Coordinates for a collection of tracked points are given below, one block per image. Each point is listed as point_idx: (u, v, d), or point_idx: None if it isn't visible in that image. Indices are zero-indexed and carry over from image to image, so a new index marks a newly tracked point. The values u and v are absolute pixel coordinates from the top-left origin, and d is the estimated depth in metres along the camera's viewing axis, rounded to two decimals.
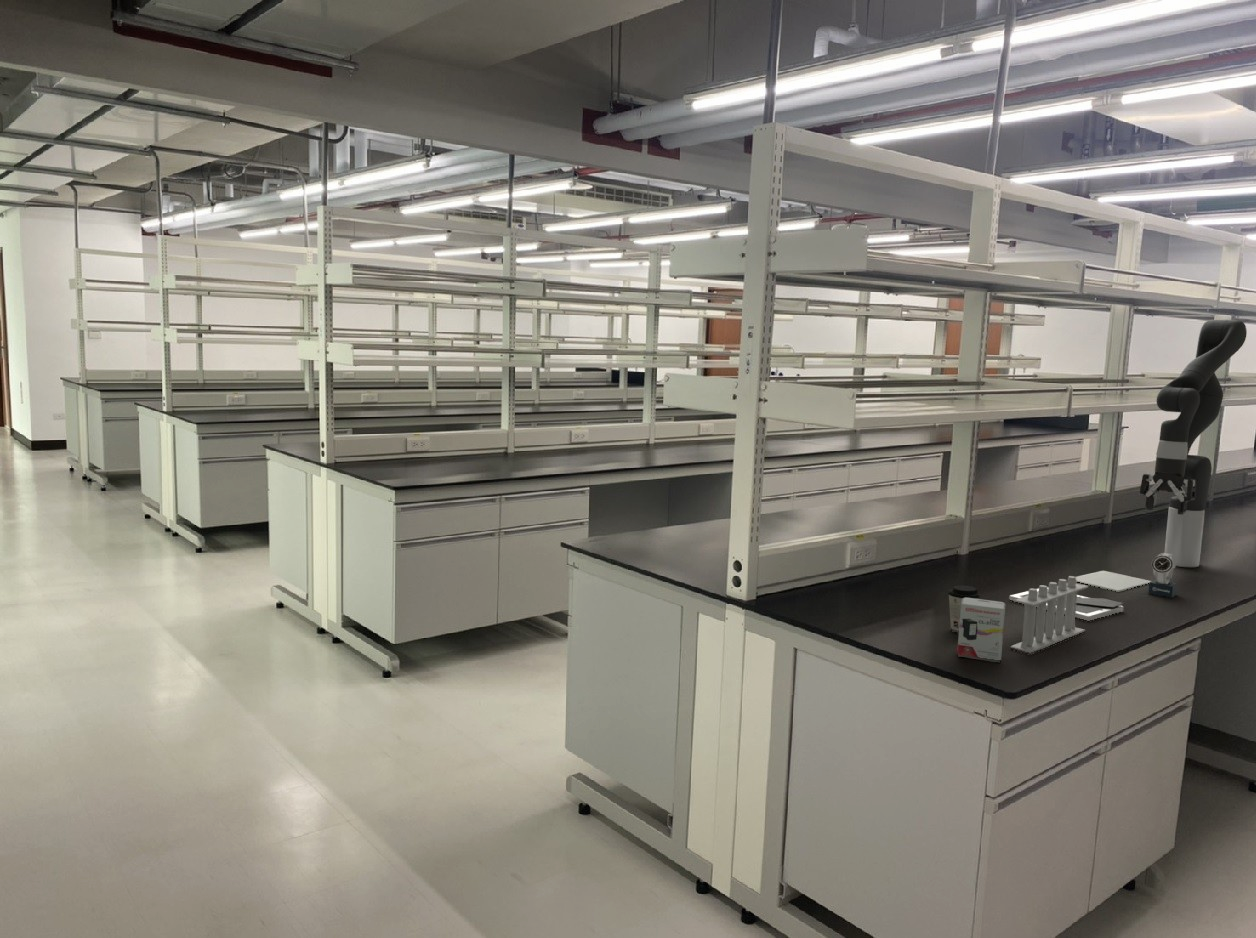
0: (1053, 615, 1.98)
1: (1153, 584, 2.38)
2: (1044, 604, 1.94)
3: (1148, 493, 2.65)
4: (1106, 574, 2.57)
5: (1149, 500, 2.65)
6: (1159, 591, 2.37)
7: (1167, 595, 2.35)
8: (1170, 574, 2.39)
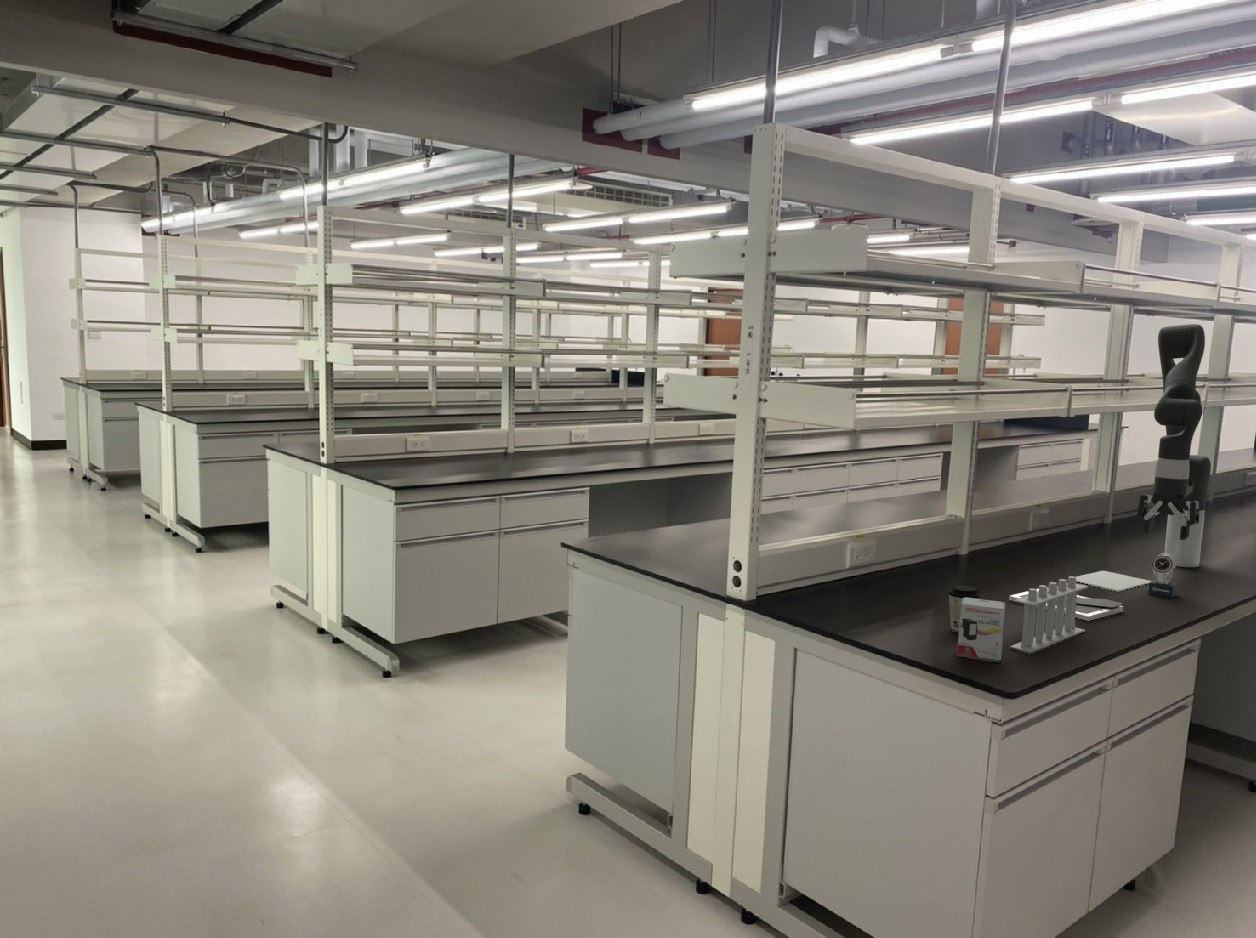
0: (1053, 615, 1.97)
1: (1153, 584, 2.38)
2: (1044, 604, 1.94)
3: (1147, 516, 2.39)
4: (1106, 574, 2.57)
5: (1148, 523, 2.39)
6: (1159, 591, 2.37)
7: (1167, 595, 2.35)
8: (1170, 574, 2.39)
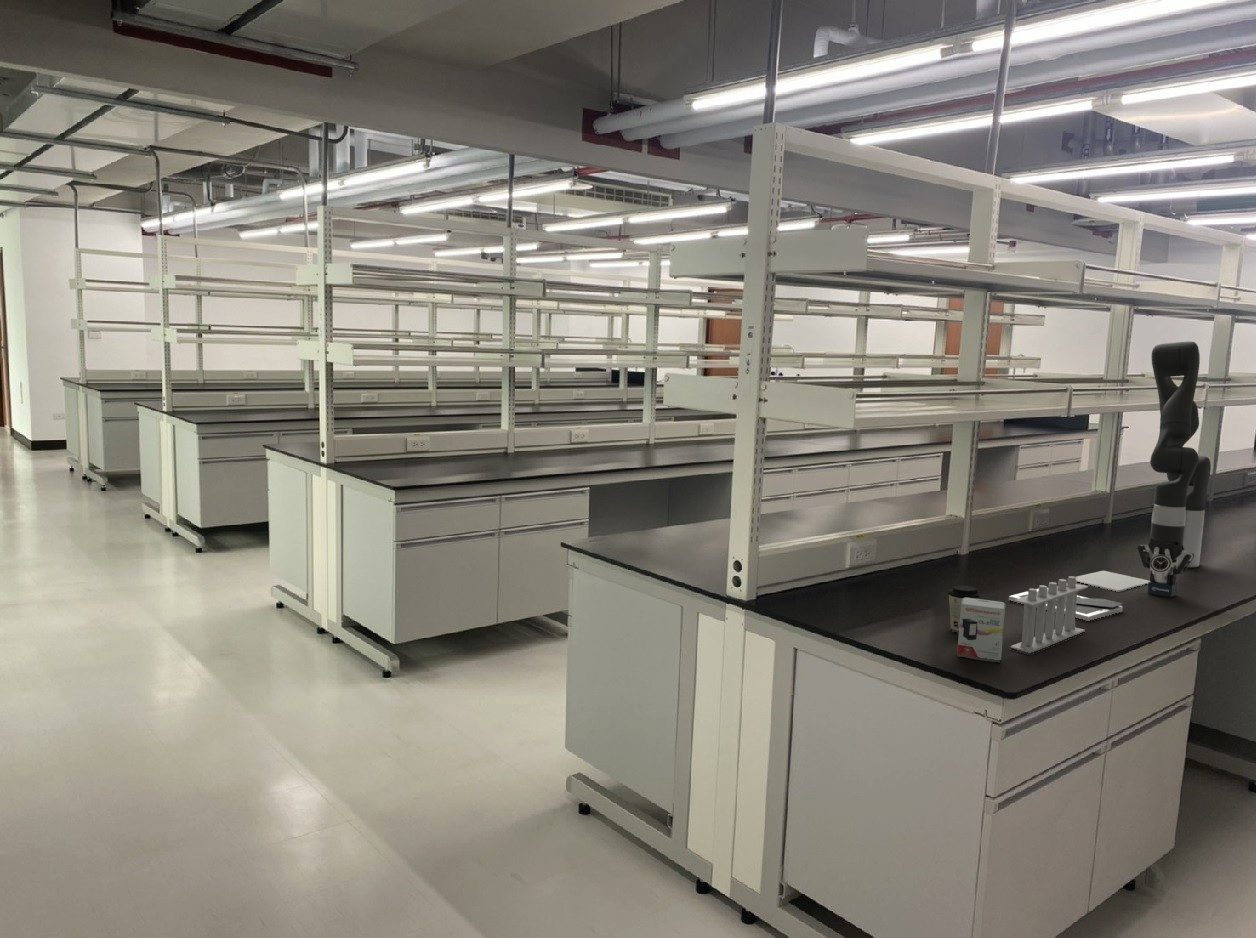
0: (1053, 615, 1.97)
1: (1152, 584, 2.38)
2: (1044, 604, 1.94)
3: None
4: (1106, 574, 2.57)
5: None
6: (1159, 591, 2.37)
7: (1167, 594, 2.35)
8: None
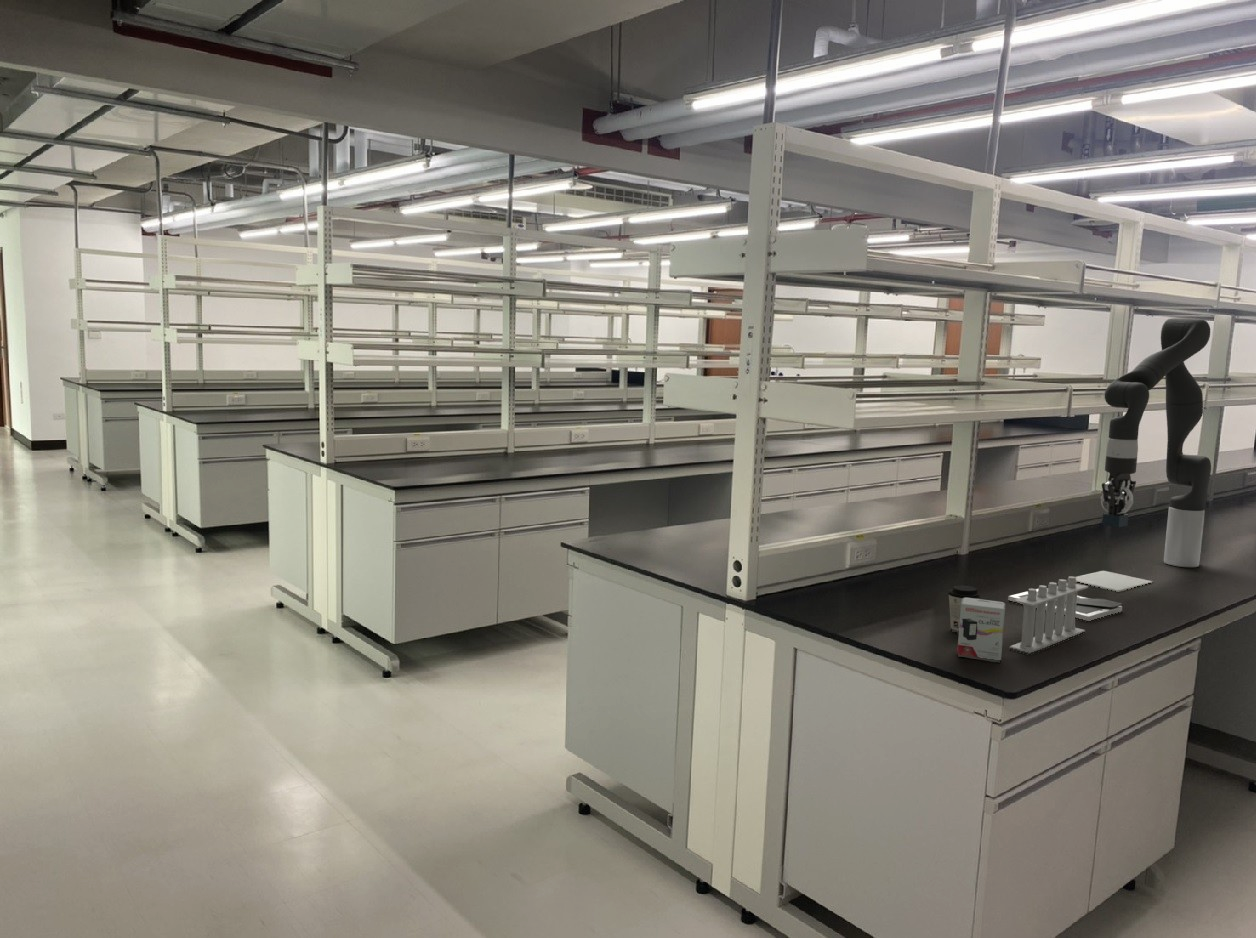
0: (1053, 615, 1.97)
1: None
2: (1044, 604, 1.94)
3: None
4: (1106, 574, 2.57)
5: None
6: None
7: None
8: (1124, 508, 2.46)
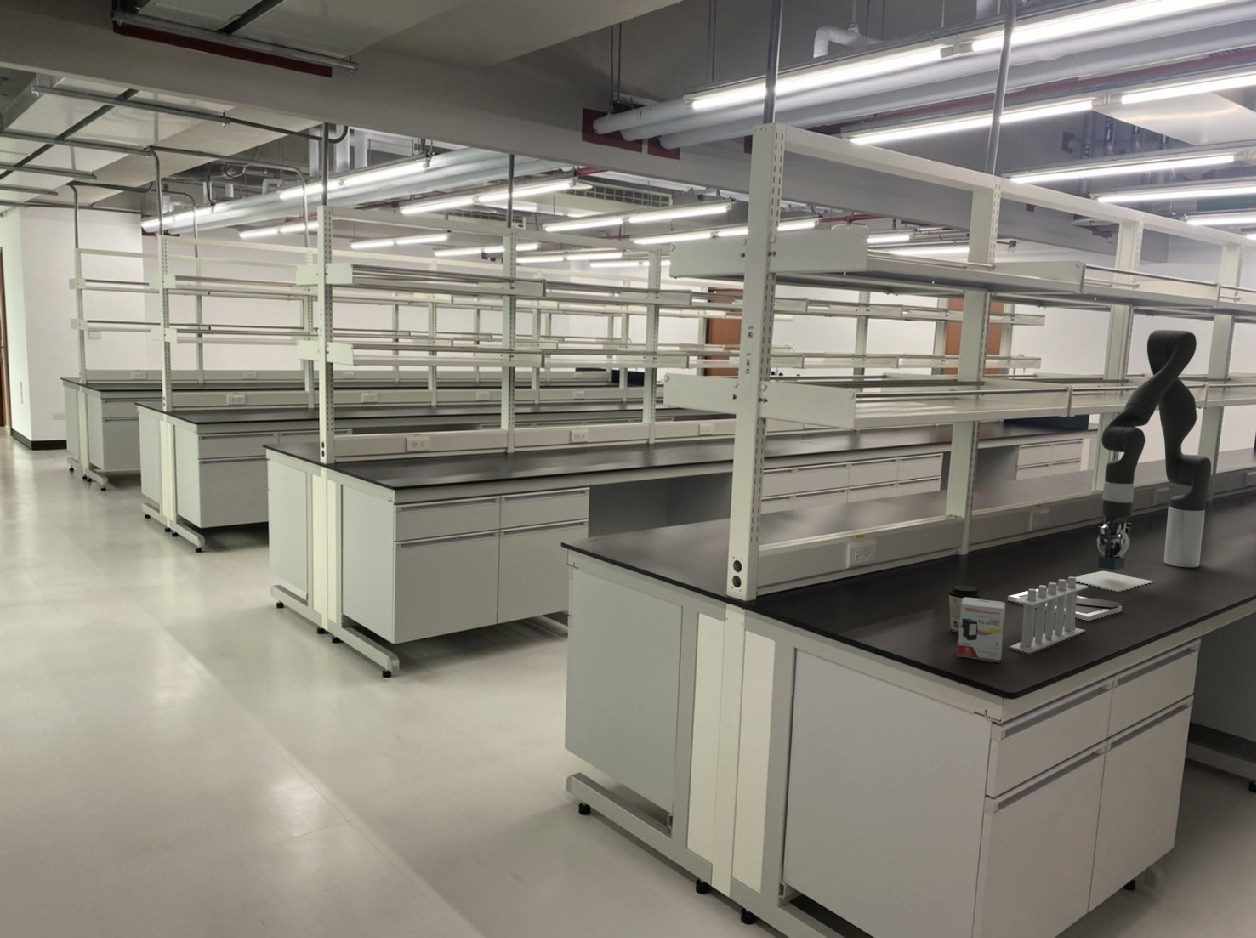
0: (1053, 615, 1.97)
1: None
2: (1043, 604, 1.94)
3: None
4: (1106, 574, 2.57)
5: None
6: None
7: None
8: (1120, 551, 2.47)
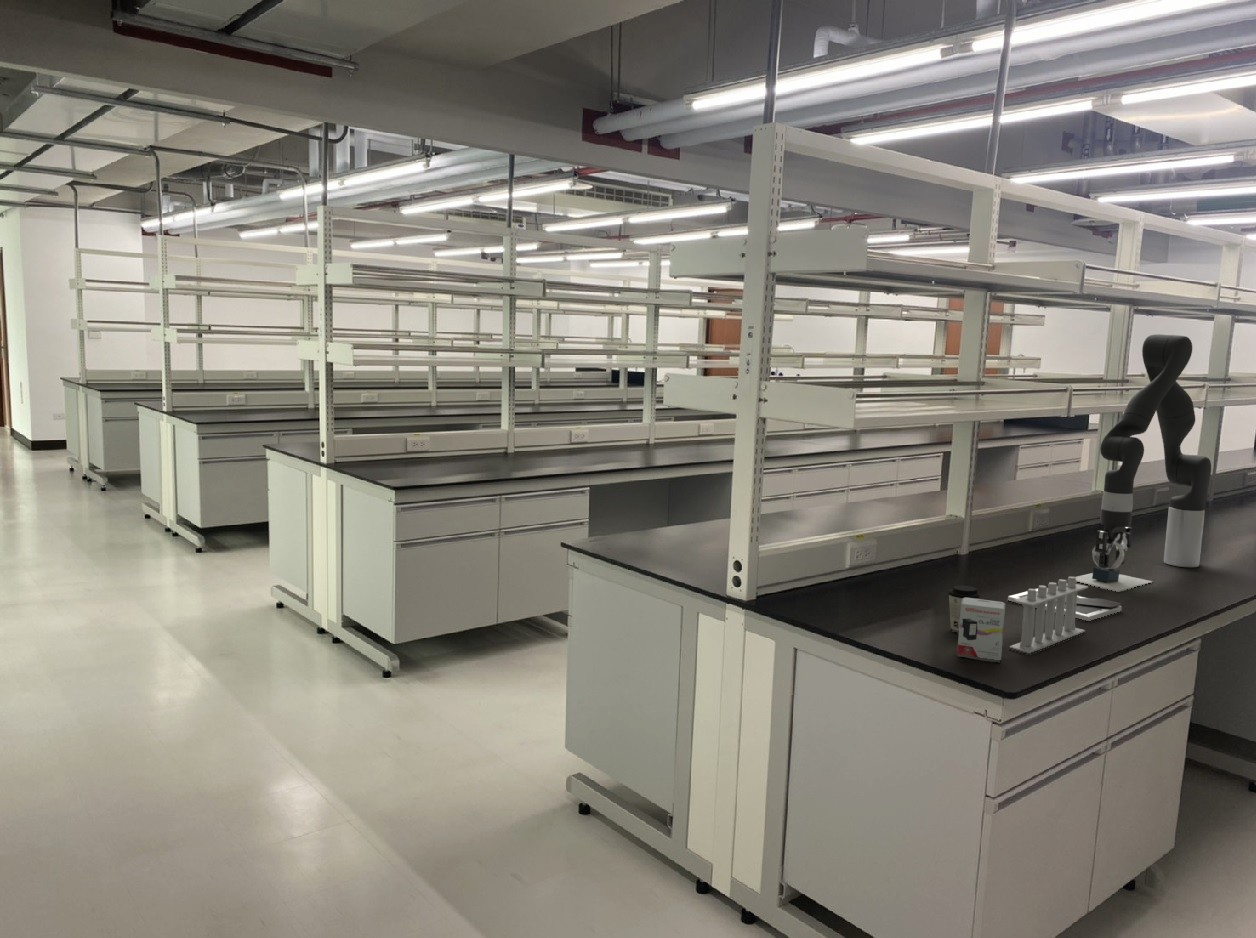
0: (1052, 615, 1.97)
1: None
2: (1043, 604, 1.94)
3: None
4: None
5: None
6: None
7: None
8: None
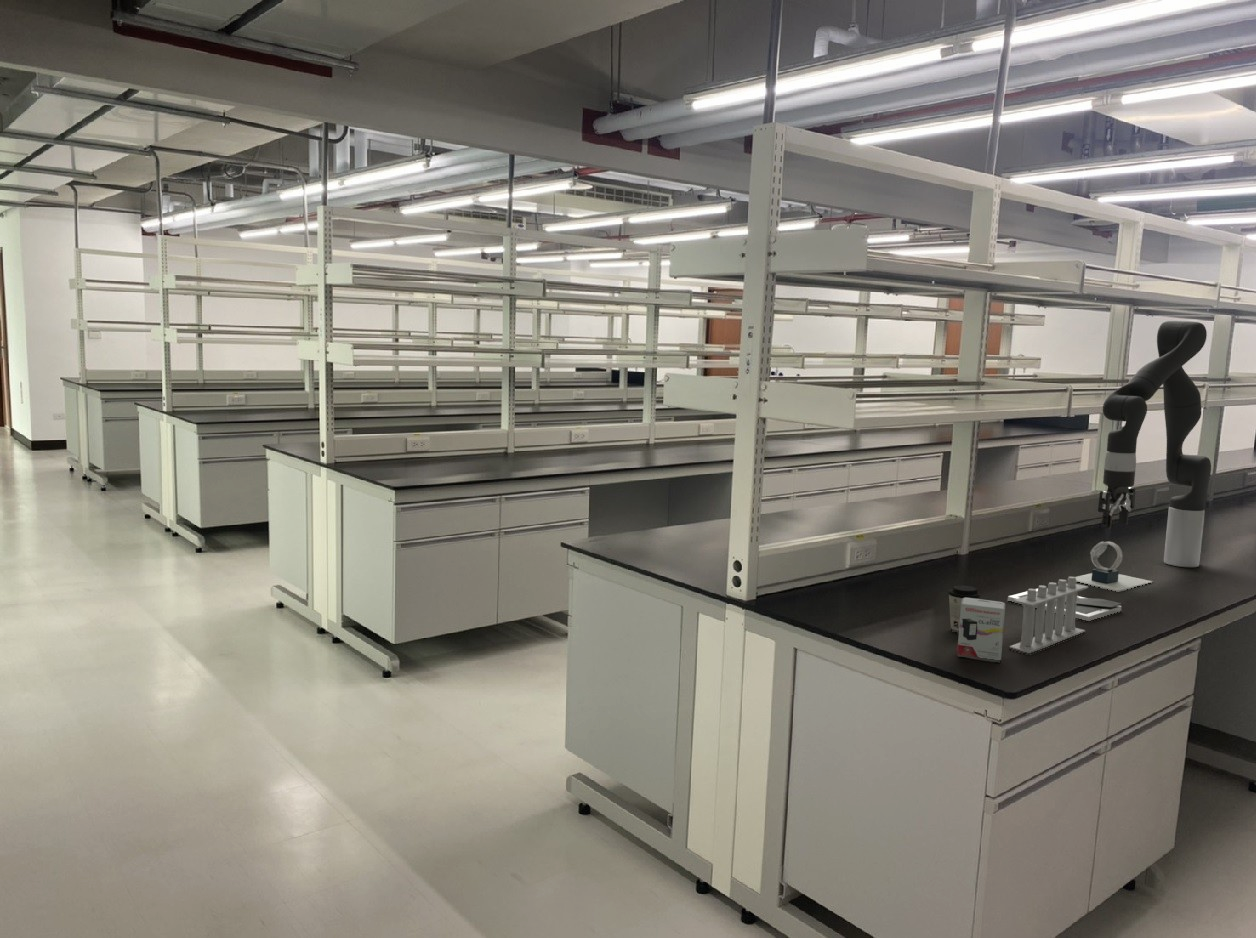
0: (1052, 615, 1.97)
1: None
2: (1043, 604, 1.94)
3: None
4: None
5: None
6: None
7: None
8: None
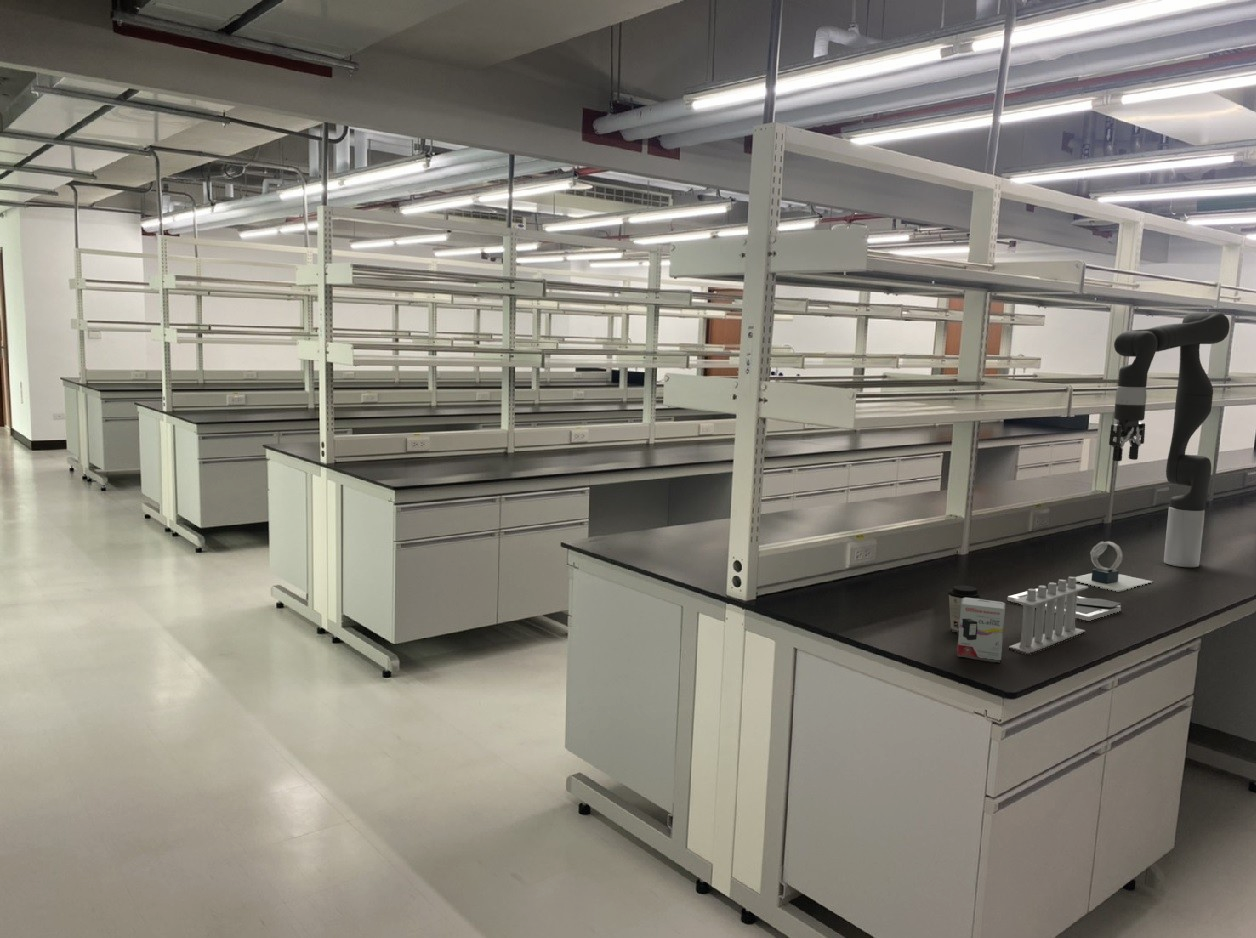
0: (1052, 615, 1.97)
1: None
2: (1043, 604, 1.94)
3: None
4: None
5: None
6: None
7: None
8: None
